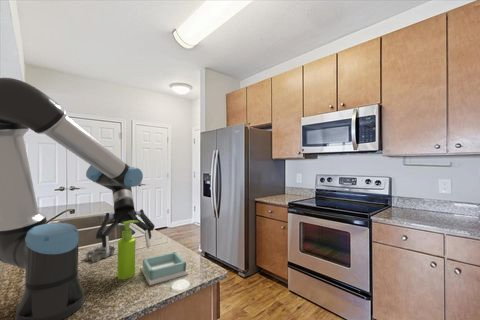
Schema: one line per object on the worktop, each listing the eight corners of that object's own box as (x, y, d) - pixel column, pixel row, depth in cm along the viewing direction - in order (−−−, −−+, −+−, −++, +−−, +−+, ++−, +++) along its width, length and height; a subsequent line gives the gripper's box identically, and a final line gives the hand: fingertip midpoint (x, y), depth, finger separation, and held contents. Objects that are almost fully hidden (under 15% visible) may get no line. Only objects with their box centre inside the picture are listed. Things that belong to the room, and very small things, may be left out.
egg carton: (94, 263, 95) (94, 253, 95) (83, 259, 98) (83, 250, 98) (117, 253, 105) (117, 245, 105) (106, 250, 108) (106, 242, 108)
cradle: (149, 285, 78) (149, 273, 78) (140, 269, 90) (141, 258, 90) (188, 274, 86) (188, 263, 86) (175, 260, 98) (175, 250, 98)
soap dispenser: (140, 274, 86) (141, 221, 86) (120, 281, 81) (121, 224, 81) (133, 268, 90) (134, 218, 90) (114, 275, 85) (115, 221, 85)
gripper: (152, 205, 105) (161, 248, 93) (87, 211, 91) (88, 263, 79) (156, 195, 101) (165, 239, 89) (88, 200, 87) (88, 253, 74)
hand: (129, 250), depth 84 cm, fingers open, 13 cm apart
